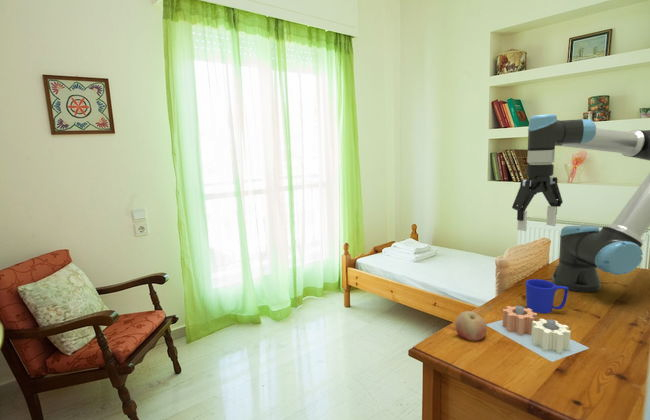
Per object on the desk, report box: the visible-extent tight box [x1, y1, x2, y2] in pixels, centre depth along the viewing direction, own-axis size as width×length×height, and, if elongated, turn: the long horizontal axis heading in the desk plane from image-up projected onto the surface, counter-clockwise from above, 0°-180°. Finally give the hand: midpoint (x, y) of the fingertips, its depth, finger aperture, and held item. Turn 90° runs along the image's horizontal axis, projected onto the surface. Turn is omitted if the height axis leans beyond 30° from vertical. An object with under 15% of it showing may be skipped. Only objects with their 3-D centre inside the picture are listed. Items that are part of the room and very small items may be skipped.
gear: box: [531, 318, 571, 353], centre depth 94 cm, size 9×9×5 cm
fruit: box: [454, 310, 488, 342], centre depth 101 cm, size 8×8×8 cm
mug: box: [525, 278, 569, 314], centre depth 114 cm, size 8×12×10 cm
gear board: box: [486, 305, 590, 363], centre depth 99 cm, size 14×21×8 cm, turn 21°
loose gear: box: [502, 305, 538, 335], centre depth 103 cm, size 9×9×5 cm
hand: (536, 227), depth 118 cm, fingers open, 13 cm apart
